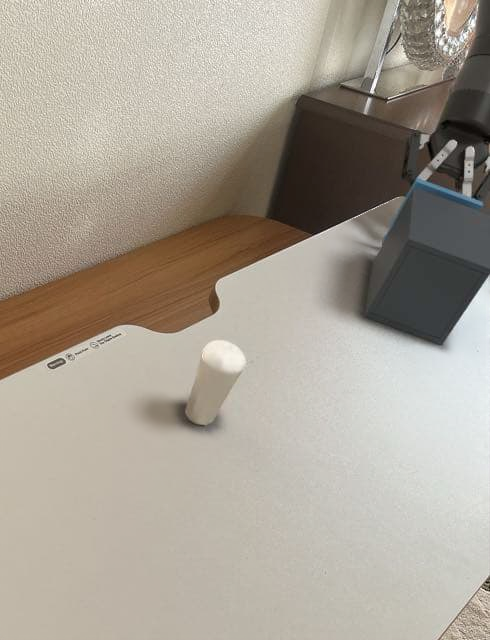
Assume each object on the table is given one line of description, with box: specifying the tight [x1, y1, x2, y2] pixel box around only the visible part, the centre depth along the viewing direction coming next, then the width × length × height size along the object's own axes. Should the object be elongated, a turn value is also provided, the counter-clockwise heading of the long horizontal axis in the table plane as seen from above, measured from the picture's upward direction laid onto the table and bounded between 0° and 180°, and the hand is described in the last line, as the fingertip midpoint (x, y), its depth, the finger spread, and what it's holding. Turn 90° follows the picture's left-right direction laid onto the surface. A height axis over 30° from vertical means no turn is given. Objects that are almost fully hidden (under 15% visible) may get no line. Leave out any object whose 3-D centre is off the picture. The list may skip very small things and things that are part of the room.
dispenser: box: [364, 187, 490, 346], centre depth 114 cm, size 14×11×12 cm
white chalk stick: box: [184, 339, 259, 426], centre depth 91 cm, size 5×5×10 cm
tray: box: [381, 178, 484, 246], centre depth 119 cm, size 16×9×10 cm, turn 164°
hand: (429, 220), depth 123 cm, fingers closed on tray, 5 cm apart
